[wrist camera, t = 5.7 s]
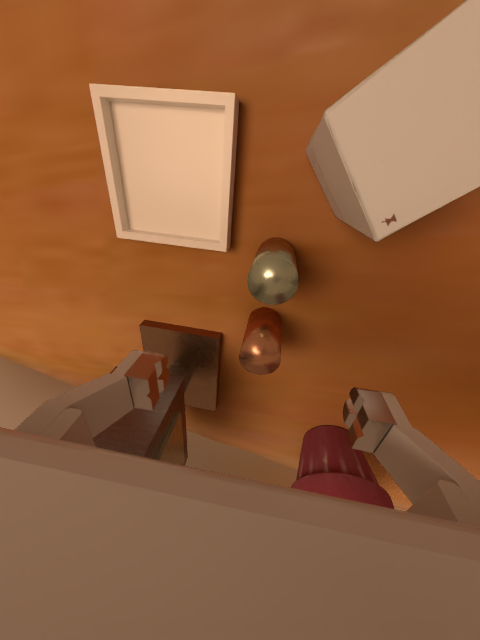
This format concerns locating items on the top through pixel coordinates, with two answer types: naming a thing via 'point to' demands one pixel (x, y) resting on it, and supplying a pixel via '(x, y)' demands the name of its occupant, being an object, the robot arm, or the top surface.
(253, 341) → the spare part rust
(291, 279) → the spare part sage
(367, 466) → the plant pot
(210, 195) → the tray
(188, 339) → the mounted unit
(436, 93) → the supplement box
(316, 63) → the top surface
